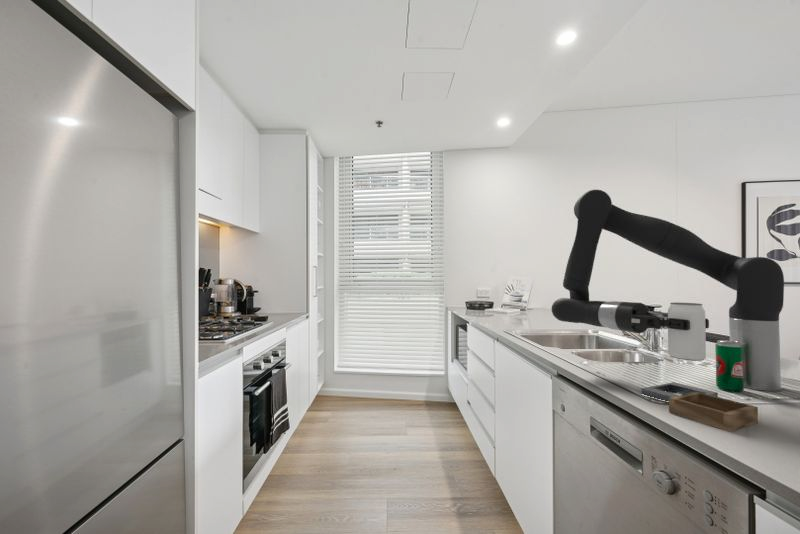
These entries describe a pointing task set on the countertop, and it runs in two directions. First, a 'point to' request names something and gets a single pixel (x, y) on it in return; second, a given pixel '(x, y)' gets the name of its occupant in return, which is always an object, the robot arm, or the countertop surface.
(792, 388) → the countertop surface
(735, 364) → the soda can
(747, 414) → the open wooden box
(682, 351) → the can
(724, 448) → the countertop surface
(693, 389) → the gray rectangular tray
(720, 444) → the countertop surface
